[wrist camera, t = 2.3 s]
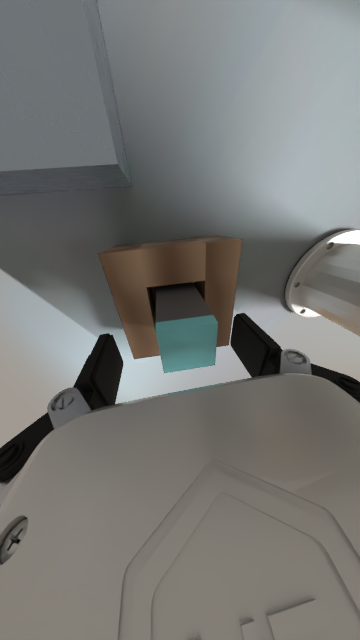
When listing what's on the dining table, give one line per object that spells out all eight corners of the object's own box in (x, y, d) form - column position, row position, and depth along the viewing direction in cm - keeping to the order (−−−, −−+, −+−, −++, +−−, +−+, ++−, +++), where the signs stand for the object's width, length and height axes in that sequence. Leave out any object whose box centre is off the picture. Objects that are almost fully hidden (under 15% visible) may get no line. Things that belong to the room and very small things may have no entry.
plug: (188, 275, 19) (218, 322, 10) (189, 304, 21) (214, 365, 12) (156, 279, 19) (155, 331, 9) (161, 307, 21) (164, 372, 11)
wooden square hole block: (218, 235, 18) (242, 239, 13) (213, 320, 24) (228, 345, 19) (115, 245, 17) (98, 253, 12) (139, 330, 23) (134, 359, 18)
